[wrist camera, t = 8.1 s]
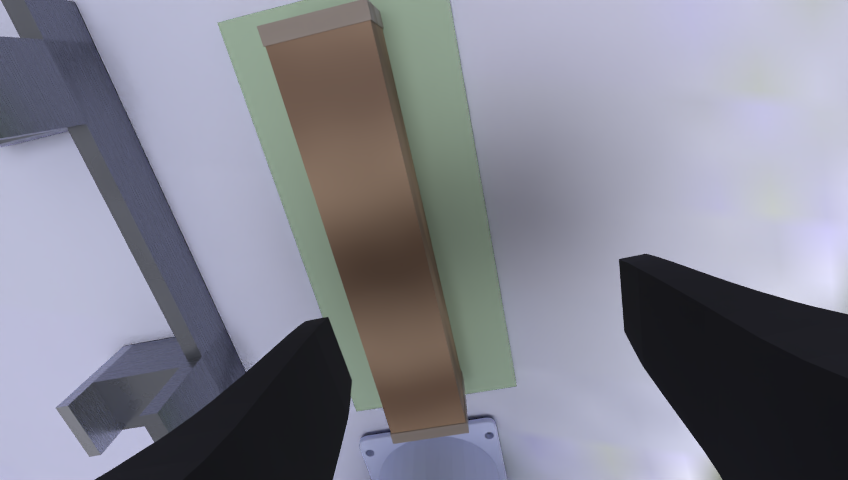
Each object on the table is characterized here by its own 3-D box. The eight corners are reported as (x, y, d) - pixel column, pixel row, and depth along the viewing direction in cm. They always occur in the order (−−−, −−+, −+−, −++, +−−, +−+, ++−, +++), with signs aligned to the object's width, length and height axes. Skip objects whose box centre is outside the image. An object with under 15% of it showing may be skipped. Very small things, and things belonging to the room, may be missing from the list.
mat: (515, 381, 24) (516, 386, 23) (357, 406, 24) (356, 411, 24) (442, -34, 16) (442, -36, 16) (222, 23, 17) (217, 23, 17)
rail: (463, 379, 23) (469, 432, 20) (399, 390, 23) (393, 444, 20) (379, 11, 17) (366, -2, 13) (291, 33, 17) (256, 26, 14)
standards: (255, 393, 24) (202, 491, 19) (159, 409, 25) (81, 508, 19) (74, 1, 17) (-100, -29, 11) (-55, 37, 18) (-281, 24, 12)
